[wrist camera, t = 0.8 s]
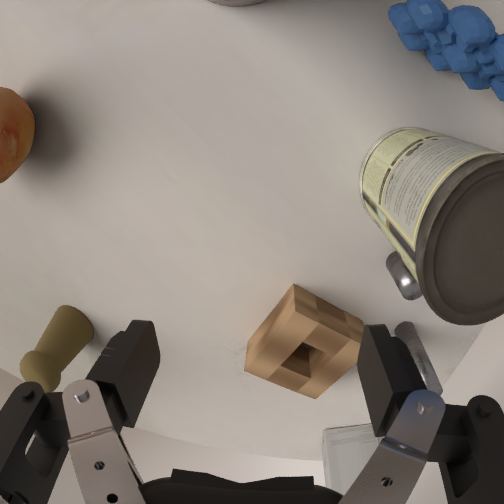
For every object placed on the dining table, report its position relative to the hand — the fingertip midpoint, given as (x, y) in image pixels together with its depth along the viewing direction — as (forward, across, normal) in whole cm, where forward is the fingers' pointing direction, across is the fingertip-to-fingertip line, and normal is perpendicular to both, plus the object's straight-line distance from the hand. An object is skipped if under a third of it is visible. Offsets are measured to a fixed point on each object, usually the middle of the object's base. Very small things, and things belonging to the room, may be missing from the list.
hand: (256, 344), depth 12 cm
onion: (+18, +26, -10) cm, 33 cm away
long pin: (+19, -16, +14) cm, 28 cm away
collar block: (+19, -4, +14) cm, 24 cm away
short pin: (+18, -13, +5) cm, 23 cm away
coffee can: (+18, -13, -3) cm, 23 cm away
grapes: (+17, -15, -16) cm, 28 cm away
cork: (+20, +25, +15) cm, 35 cm away
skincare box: (+20, -13, +35) cm, 43 cm away
